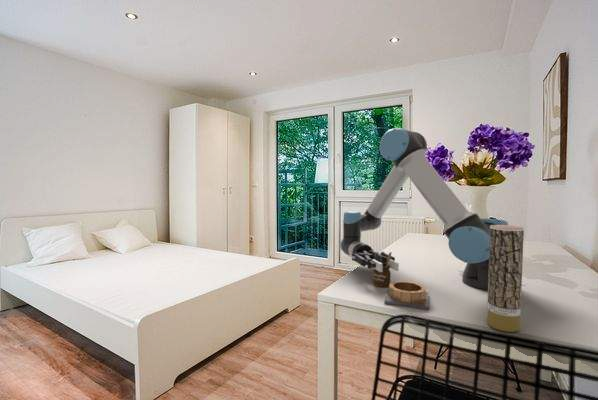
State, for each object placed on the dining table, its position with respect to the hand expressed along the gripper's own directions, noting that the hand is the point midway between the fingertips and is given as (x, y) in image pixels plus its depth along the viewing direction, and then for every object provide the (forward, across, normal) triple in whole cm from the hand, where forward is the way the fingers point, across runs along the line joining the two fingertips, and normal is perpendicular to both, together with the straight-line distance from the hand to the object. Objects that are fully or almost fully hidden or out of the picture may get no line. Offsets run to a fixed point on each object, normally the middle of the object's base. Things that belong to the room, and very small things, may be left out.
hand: (389, 267), depth 102 cm
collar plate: (+9, -1, -8) cm, 12 cm away
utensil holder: (-5, 0, -8) cm, 9 cm away
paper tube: (+30, -14, -8) cm, 34 cm away
